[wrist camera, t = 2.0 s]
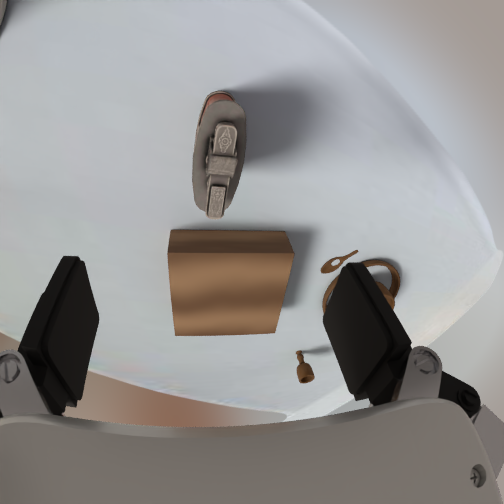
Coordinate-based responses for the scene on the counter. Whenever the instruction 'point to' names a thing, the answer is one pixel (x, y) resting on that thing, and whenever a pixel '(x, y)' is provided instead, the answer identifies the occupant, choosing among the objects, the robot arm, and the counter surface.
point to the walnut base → (227, 280)
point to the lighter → (218, 153)
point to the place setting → (304, 368)
